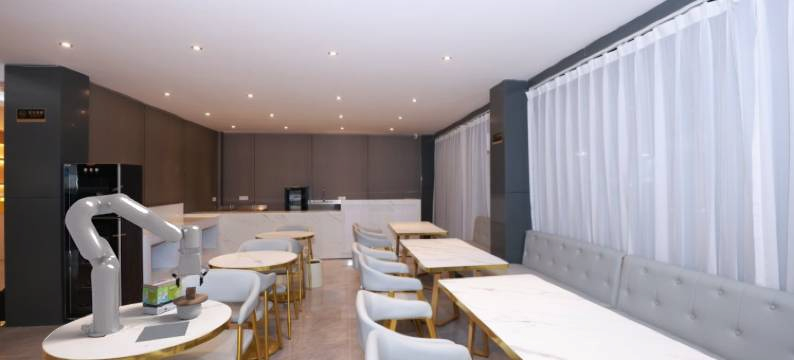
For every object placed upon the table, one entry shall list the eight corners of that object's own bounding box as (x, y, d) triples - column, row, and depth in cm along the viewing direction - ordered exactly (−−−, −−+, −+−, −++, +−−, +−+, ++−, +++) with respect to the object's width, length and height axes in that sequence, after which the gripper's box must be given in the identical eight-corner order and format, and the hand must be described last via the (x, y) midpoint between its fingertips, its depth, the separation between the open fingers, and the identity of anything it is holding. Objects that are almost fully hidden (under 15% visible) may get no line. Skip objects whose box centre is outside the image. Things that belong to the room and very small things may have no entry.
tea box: (157, 315, 195) (157, 285, 195) (142, 313, 198) (141, 284, 198) (182, 305, 209) (182, 278, 209) (167, 304, 212) (167, 276, 212)
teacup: (191, 322, 184) (190, 305, 184) (171, 321, 187) (170, 304, 187) (210, 312, 198) (210, 296, 198) (191, 311, 200) (191, 295, 200)
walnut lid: (170, 307, 182) (170, 294, 182) (175, 298, 196) (175, 285, 196) (206, 303, 188) (206, 290, 188) (209, 294, 202) (209, 282, 202)
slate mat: (135, 343, 162) (135, 342, 162) (145, 328, 178) (145, 326, 178) (184, 336, 168) (184, 335, 168) (189, 322, 185) (189, 321, 185)
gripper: (168, 253, 185) (167, 289, 185) (209, 251, 192) (208, 286, 192) (171, 250, 192) (170, 285, 192) (210, 248, 199) (209, 282, 199)
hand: (189, 286), depth 192 cm, fingers open, 9 cm apart
